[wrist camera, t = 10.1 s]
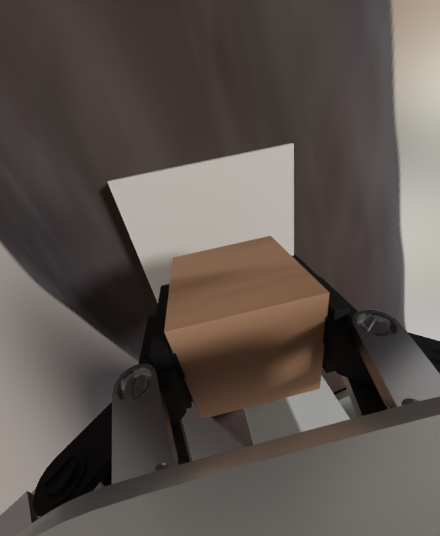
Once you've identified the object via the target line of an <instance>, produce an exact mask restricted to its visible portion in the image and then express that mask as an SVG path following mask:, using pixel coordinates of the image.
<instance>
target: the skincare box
mask: <svg viewBox="0 0 440 536" xmlns="http://www.w3.org/2000/svg"><path fill="white" fill-rule="evenodd" d="M244 412H245V415H246V419H247V423H248V427H249V430H250V434H251V438H252V442H253V445H254V444H258V443H262V442H266V441H269V440H273V439H277V438H281V437H284V436H288V435H292V434H296V433H300V432H303V431H307V430H311V429H315V428H319V427H322V426H326V425H330V424H334V423H338V422H341V421H345V420H349V419H350V418H349V417H348V415H347V414H346V412H345V410H344V409H343V407H342V406H341V404H340V403H339V401H338V400H337V398H336V397H335V395H334V394H333V392H332V391H331V389H330V388H329V386H328V384H327V383H326V381H325V380H324V378H323V377H322V375H321V383H320V389H317V390H313V391H310V392H306V393H302V394H298V395H294V396H290V397H286V398H282V399H278V400H275V401H271V402H267V403H263V404H259V405H255V406H251V407H247V408H244Z"/></svg>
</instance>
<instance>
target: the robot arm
mask: <svg viewBox="0 0 440 536" xmlns="http://www.w3.org/2000/svg"><path fill="white" fill-rule="evenodd" d="M292 257H293V258H294V259H295V260H296V261H297V262H298V263H299V264H300V265H301V266H303V267H304V268H305V269H306V270H307V271H308V272H309V273H310V274H311V275H312V276H313V277H314V278H315V279H316V280H317V281H318V282H319V283H320V284H321V285H322V286H323V287H324V288H325V289H326V290H327V291H328V292H330V294H329V304H328V314H327V316H326V317H325V325H324V335H323V343H324V353H323V363H322V367H323V368H324V370H325V371H326V373H328V372H332V371H336V372H337V373H338V374H340V375H342V378H343V380H344V383H345V386H346V390H344V391H341V392H339V393H337V394H336V395H335V397H336V398H337V400H338V401H339V403H340V404H341V406H342V407H343V409H344V410H345V412H346V414H347V415H348V417H349V418H350V419H349V420H345V421H341V422H338V423H334V424H330V425H326V426H322V427H319V428H315V429H311V430H307V431H303V432H300V433H296V434H292V435H288V436H284V437H281V438H277V439H273V440H269V441H266V442H262V443H258V444H254V445H251V446H247V447H243V448H239V449H236V450H232V451H229V452H225V453H221V454H217V455H213V456H210V457H206V458H203V459H199V460H195V461H192V458H191V454H190V450H189V447H188V443H187V439H186V435H185V432H184V428H183V424H182V420H181V419H182V417H183V416H184V415H185V413H186V409H187V408H190V407H192V405H191V398H192V395H191V393H190V391H189V389H188V386H187V384H186V382H185V379H184V378H186V377H185V374H184V372H183V369H182V367H181V365H180V362H179V360H178V358H177V355H176V353H174V354H173V351H172V349H171V347H170V344H169V342H168V340H167V337H166V335H165V333H164V329H165V320H166V312H167V303H168V295H169V286H170V284H166V285H162V286H161V288H160V294H159V300H158V306H157V312H156V315H152V316H149V318H148V322H147V326H146V331H145V336H144V340H143V345H142V350H141V354H140V359H139V364H138V365H135V366H133V367H131V368H129V369H128V370H126V371H125V372H124V373H123V374H122V375H121V376H120V377H119V378H118V380H117V381H116V383H115V385H114V388H113V393H112V403H110V404H109V406H107V407H106V408H105V409H104V410H103V411H102V412H101V414H99V415H98V416H97V418H95V419H94V420H93V421H92V422H91V423H90V424H89V425H88V426H87V427H86V428H85V429H84V430H83V431H82V432H81V433H80V434H79V435H78V436H77V437H76V438H75V439H74V440H73V441H72V442H71V443H70V444H69V445H68V446H67V447H66V448H65V449H64V450H63V451H62V452H61V453H60V454H59V455H58V456H57V457H56V458H55V459H54V460H53V461H52V463H51V464H50V465H49V466H48V467H47V469H46V470H45V472H44V473H43V475H42V476H41V478H40V480H39V482H38V485H37V487H36V489H35V490H34V491H33V492H32V493H30V492H26V493H25V494H24V495H23V496H22V497H20V498H19V499H18V500H17V501H16V502H15V503H14V504H13V505H12V506H10V507H9V508H8V509H7V510H6V511H5V512H4V513H3V514H1V515H0V536H440V341H436V340H433V339H430V338H426V337H422V336H419V335H415V334H412V333H408V332H407V331H406V330H405V329H404V327H403V326H402V325H401V324H400V323H399V322H398V321H397V320H396V319H395V318H394V317H392V316H391V315H389V314H387V313H384V312H382V311H377V310H369V309H366V310H360V311H357V310H356V309H355V308H354V307H352V306H351V305H350V304H349V303H348V302H347V301H346V300H345V299H344V298H343V297H342V296H341V295H340V294H339V293H338V292H336V291H335V290H334V289H333V288H332V287H331V286H330V285H329V284H328V283H327V282H326V281H325V280H324V279H322V278H321V277H318V276H317V275H316V274H315V273H314V272H313V271H312V270H311V269H310V268H309V267H308V266H307V265H306V264H305V263H304V262H303V261H302V260H301V259H299V258H298V257H297V256H296V255H293V256H292Z"/></svg>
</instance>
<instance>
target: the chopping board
mask: <svg viewBox="0 0 440 536" xmlns="http://www.w3.org/2000/svg"><path fill="white" fill-rule="evenodd" d="M108 185H109V187H110V189H111V192H112V194H113V197H114V199H115V202H116V204H117V206H118V209H119V211H120V214H121V216H122V218H123V221H124V223H125V226H126V228H127V230H128V233H129V235H130V238H131V240H132V243H133V245H134V247H135V250H136V252H137V255H138V257H139V259H140V262H141V264H142V267H143V269H144V271H145V274H146V276H147V279H148V281H149V284H150V286H151V288H152V291H153V293H154V296H155V298H156V300H157V303H158V300H159V294H160V288H161V286H162V285H166V284H170V277H171V269H172V260H173V257H178V256H182V255H186V254H191V253H195V252H200V251H204V250H209V249H213V248H218V247H222V246H227V245H231V244H236V243H240V242H245V241H249V240H253V239H258V238H262V237H267V236H271V237H272V238H273V239H275V240H276V241H277V242H278V243H279V244H280V245H281V246H282V247H283V248H284V249H285V250H286V251H287V252H288V253H289V254H290V255H291V256H293V255H294V143H291V144H283V145H278V146H274V147H269V148H264V149H259V150H254V151H249V152H244V153H240V154H235V155H230V156H225V157H220V158H215V159H210V160H205V161H201V162H196V163H191V164H186V165H181V166H176V167H171V168H167V169H162V170H157V171H152V172H147V173H142V174H137V175H133V176H128V177H123V178H118V179H113V180H110V181H108Z"/></svg>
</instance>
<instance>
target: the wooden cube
mask: <svg viewBox="0 0 440 536" xmlns="http://www.w3.org/2000/svg"><path fill="white" fill-rule="evenodd" d="M329 294H330V292H328V291H327V290H326V289H325V288H324V287H323V286H322V285H321V284H320V283H319V282H318V281H317V280H316V279H315V278H314V277H313V276H312V275H311V274H310V273H309V272H308V271H307V270H306V269H305V268H304V267H303V266H301V265H300V264H299V263H298V262H297V261H296V260H295V259H294V258H293V257H292V256H291V255H290V254H289V253H288V252H287V251H286V250H285V249H284V248H283V247H282V246H281V245H280V244H279V243H278V242H277V241H276V240H275V239H273V238H272V237H271V236H267V237H262V238H258V239H253V240H249V241H245V242H240V243H236V244H231V245H227V246H222V247H218V248H213V249H209V250H204V251H200V252H195V253H191V254H186V255H182V256H178V257H173V260H172V269H171V277H170V286H169V295H168V303H167V312H166V320H165V329H164V333H165V335H166V337H167V340H168V342H169V344H170V347H171V349H172V351H173V354H174V353H176V355H177V358H178V360H179V362H180V365H181V367H182V369H183V372H184V374H185V377H186V378H184V379H185V382H186V384H187V386H188V389H189V391H190V393H191V395H192V398H193V400H194V402H195V405H196V407H197V409H198V412H199V414H200V416H201V419H204V418H208V417H212V416H216V415H220V414H224V413H228V412H232V411H236V410H239V409H243V408H247V407H251V406H255V405H259V404H263V403H267V402H271V401H275V400H278V399H282V398H286V397H290V396H294V395H298V394H302V393H306V392H310V391H313V390H317V389H320V383H321V373H322V363H323V353H324V343H323V335H324V325H325V317H326V316H327V314H328V304H329Z"/></svg>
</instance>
